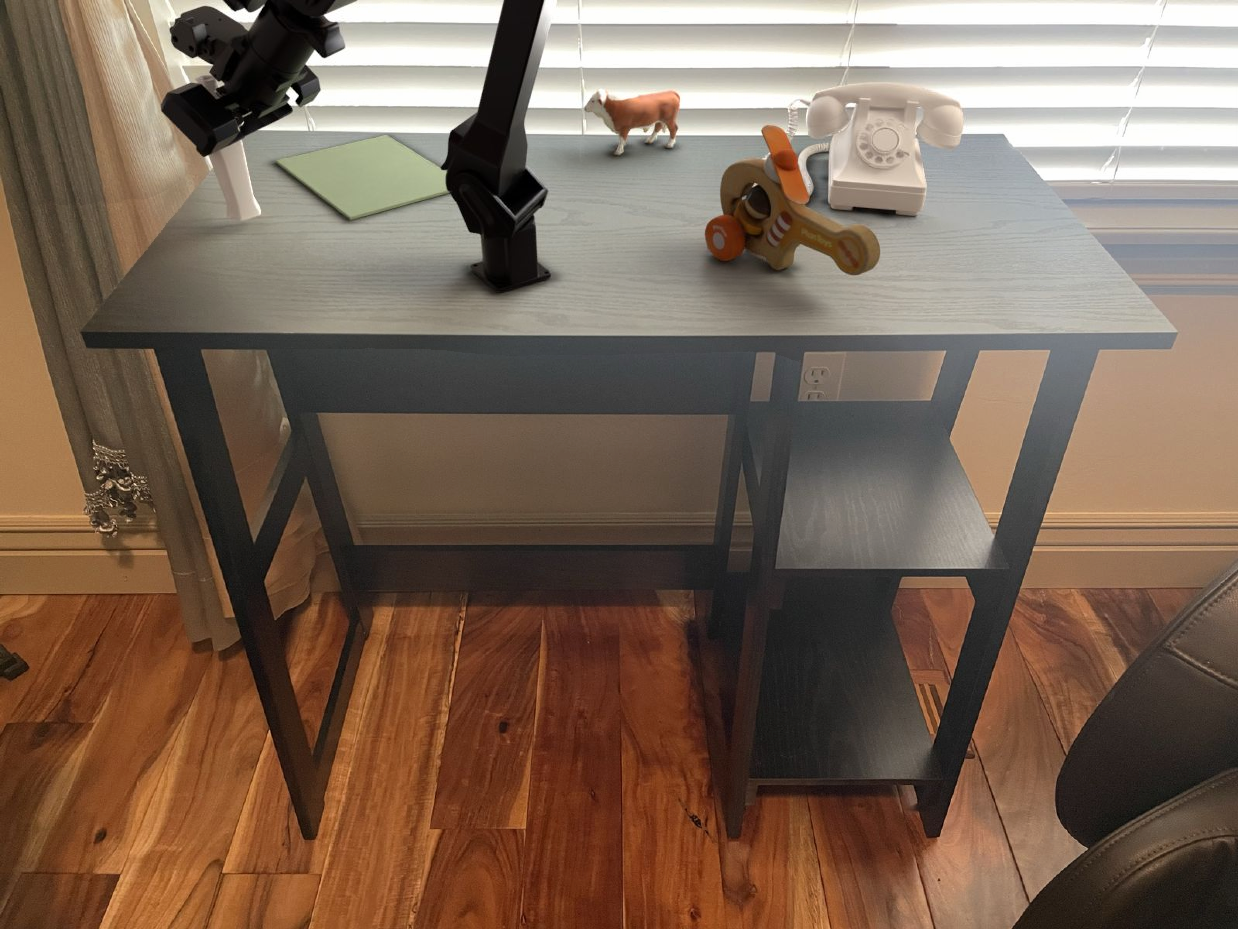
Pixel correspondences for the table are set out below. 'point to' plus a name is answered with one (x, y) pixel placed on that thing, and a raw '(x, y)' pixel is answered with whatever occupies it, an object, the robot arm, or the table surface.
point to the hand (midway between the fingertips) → (215, 145)
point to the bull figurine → (636, 113)
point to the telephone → (877, 142)
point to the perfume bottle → (232, 171)
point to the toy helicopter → (781, 215)
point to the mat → (367, 176)
